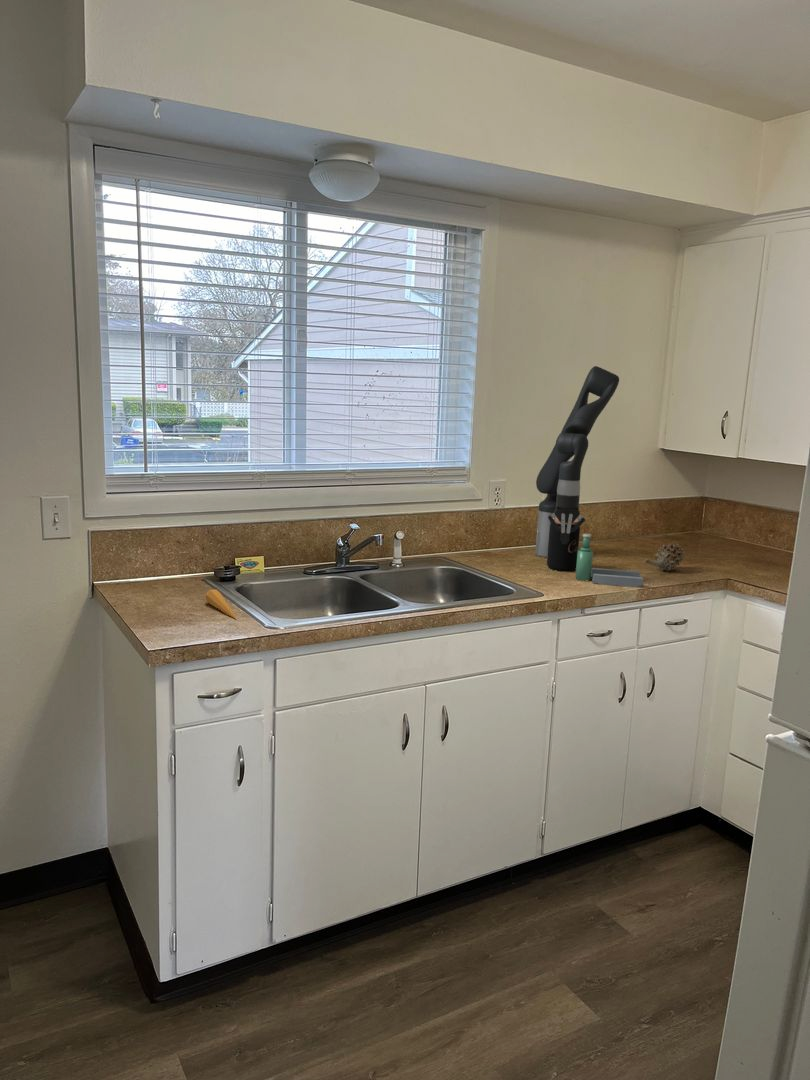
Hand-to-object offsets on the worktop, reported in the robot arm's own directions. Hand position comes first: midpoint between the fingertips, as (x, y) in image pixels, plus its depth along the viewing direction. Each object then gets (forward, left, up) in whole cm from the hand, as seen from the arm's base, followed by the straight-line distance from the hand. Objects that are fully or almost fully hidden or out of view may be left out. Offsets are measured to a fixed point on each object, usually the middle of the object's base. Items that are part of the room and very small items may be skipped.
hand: (564, 543), depth 280 cm
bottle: (+7, 0, -12) cm, 14 cm away
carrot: (-94, -72, -12) cm, 119 cm away
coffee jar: (0, +14, -12) cm, 19 cm away
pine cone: (+36, +22, -12) cm, 44 cm away
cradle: (+18, 0, -12) cm, 22 cm away
